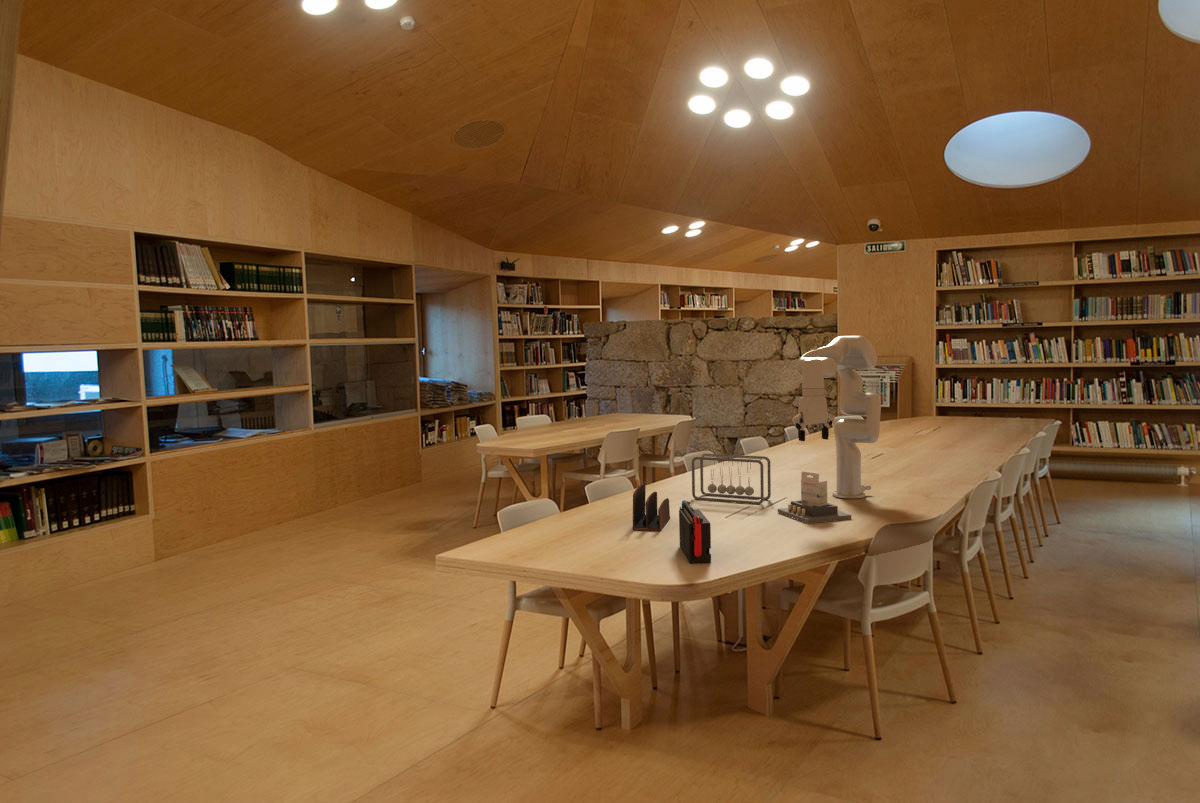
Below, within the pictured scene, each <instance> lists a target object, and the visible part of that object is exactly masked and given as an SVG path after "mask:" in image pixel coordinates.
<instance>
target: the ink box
mask: <svg viewBox="0 0 1200 803" xmlns="http://www.w3.org/2000/svg"><path fill="white" fill-rule="evenodd" d="M800 474H801V475H800V476H801V478H800V479H801V480H800V488H801V489H800V491H801V493H800V496H801V497H800V500H801V504H804V505H807V506H810V507H813V508H816V507H826V506H827V503H828V480H823V479H820V474H819V473H814V472H809V471H803V470H802V471H801V473H800Z"/></svg>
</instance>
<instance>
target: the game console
mask: <svg viewBox="0 0 1200 803" xmlns="http://www.w3.org/2000/svg"><path fill="white" fill-rule="evenodd" d="M678 521H679V522H678V524H679V527H678V528H679V529H678V530H679V534H678V535H679V548H680V550H681V551H682V553H683V555H684V556H685V558H686V560H687V562H688V564H690V565H691V564H712V553H710V549H712V545H711V544H712V543H711V542H712V541H711V540H712V538H711V535H712V534H711V522H710V521H709V519H708V518H707V517H706V516H705V515H704V513H703V512H702V511H701V510H700V509H699V508H697V509H695V508H693V507H692V506H691V501H688V500H685V499H684V500H682V501H681V506H679V510H678Z"/></svg>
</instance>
